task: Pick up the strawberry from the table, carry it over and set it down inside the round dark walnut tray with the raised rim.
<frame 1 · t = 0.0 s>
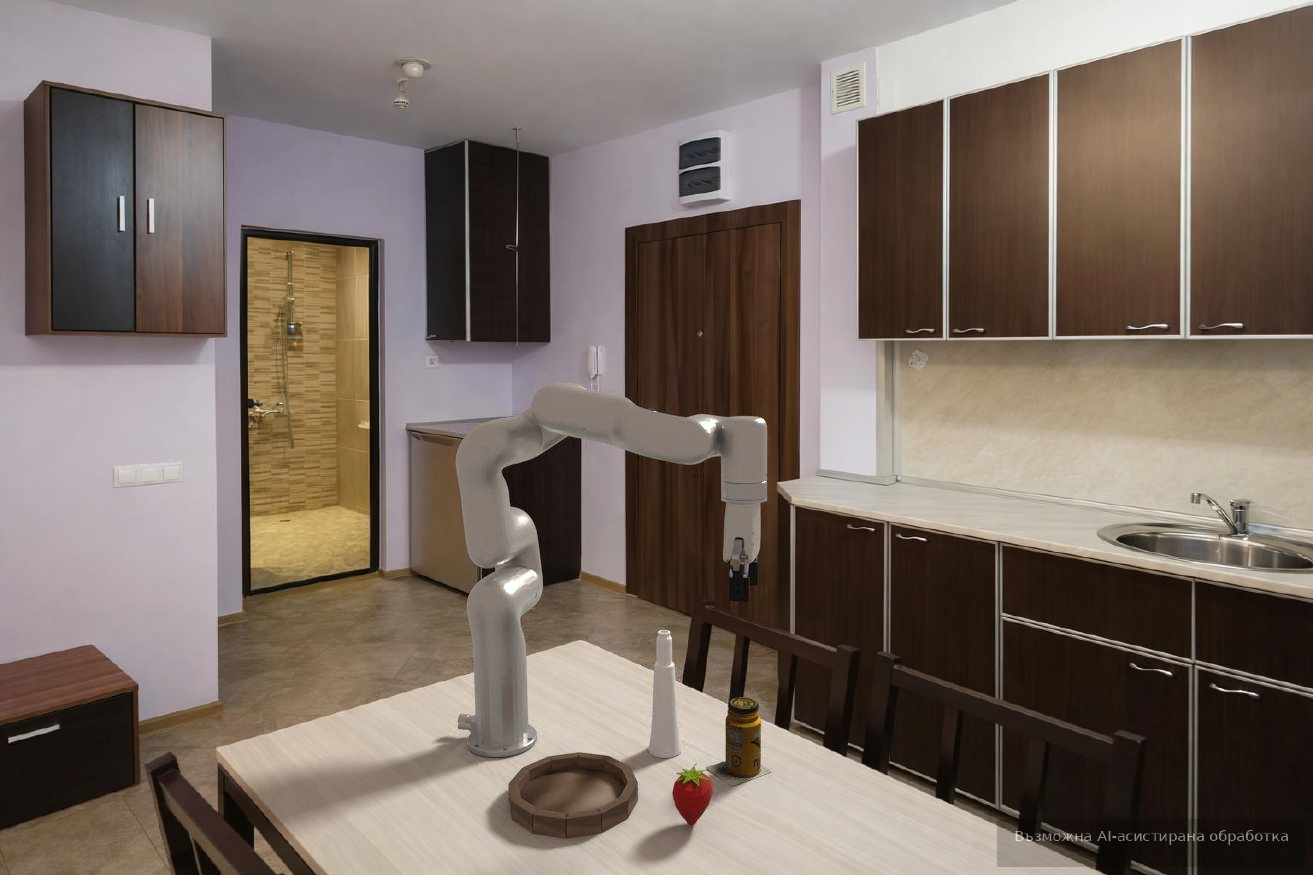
hand: (744, 592, 139), 31 cm above the table, tool pointing down, fingers open, 9 cm apart
strawberry: (692, 825, 126), on the table
cosmetic bottle: (665, 751, 150), on the table
tray: (573, 800, 133), on the table
condiment: (738, 771, 142), on the table
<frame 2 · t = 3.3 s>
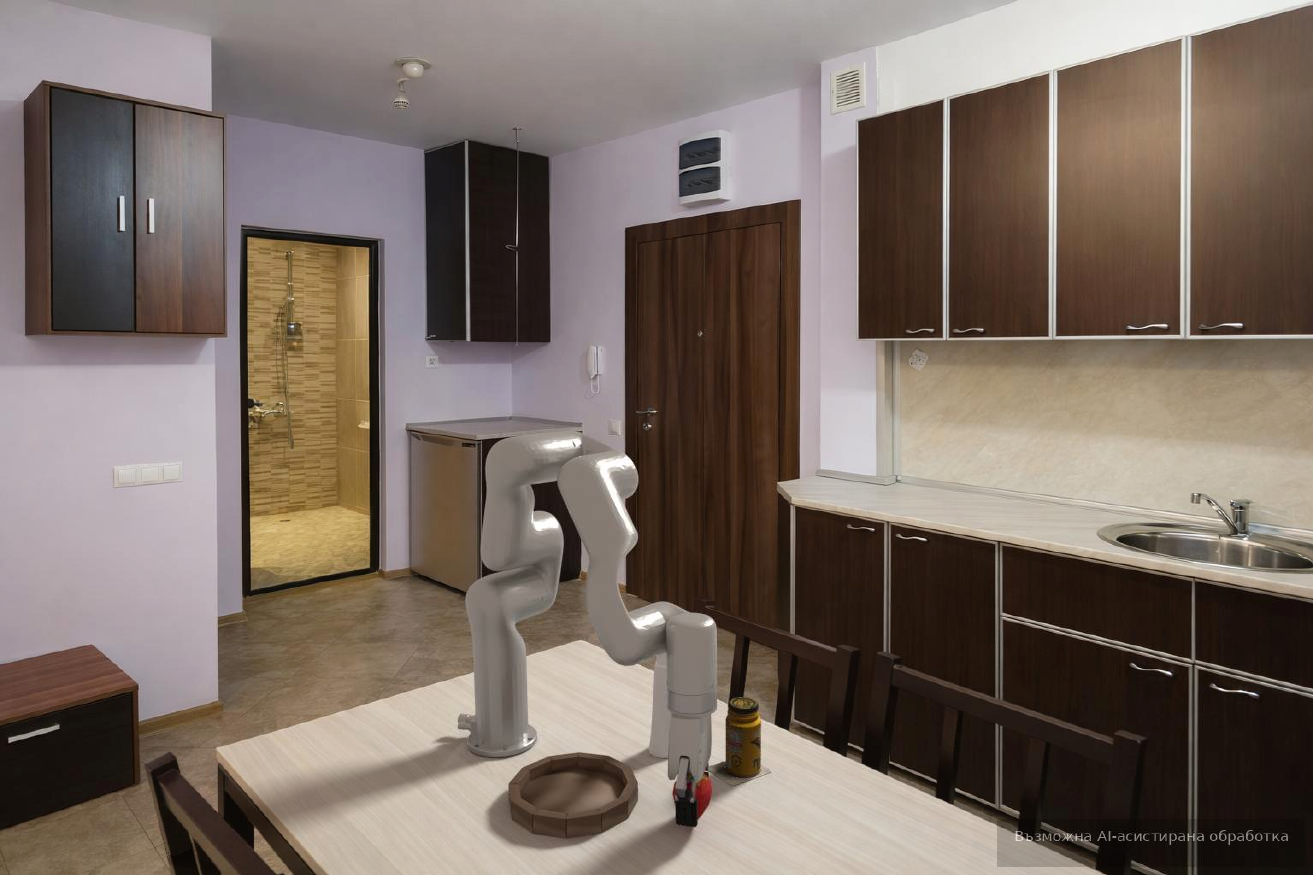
hand: (692, 809, 126), 2 cm above the table, tool pointing down, fingers closed on strawberry, 7 cm apart
strawberry: (692, 825, 126), on the table, touching gripper
everything else where it was.
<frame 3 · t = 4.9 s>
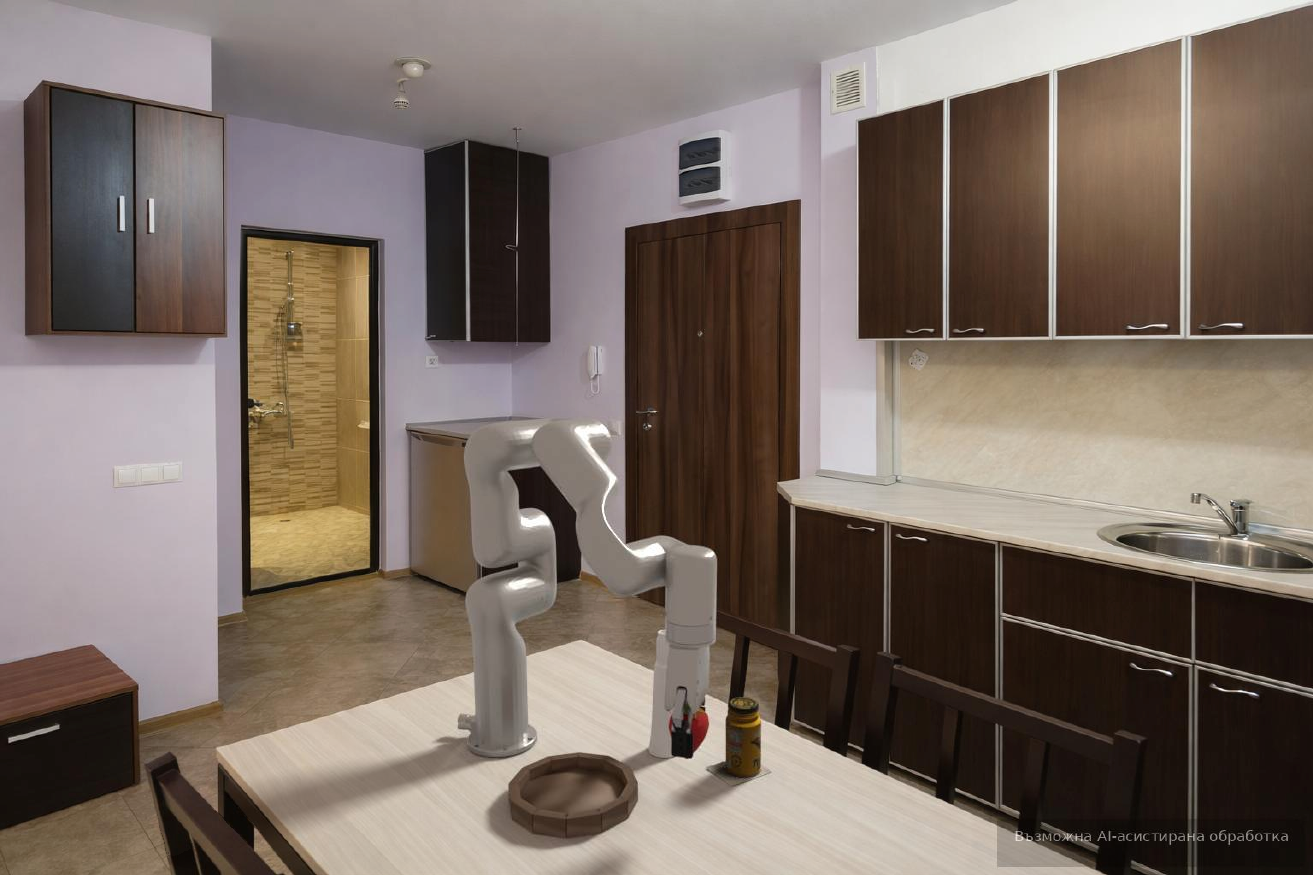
hand: (688, 742, 125), 13 cm above the table, tool pointing down, fingers closed on strawberry, 7 cm apart
strawberry: (688, 759, 126), point 10 cm above the table, touching gripper
everything else where it was.
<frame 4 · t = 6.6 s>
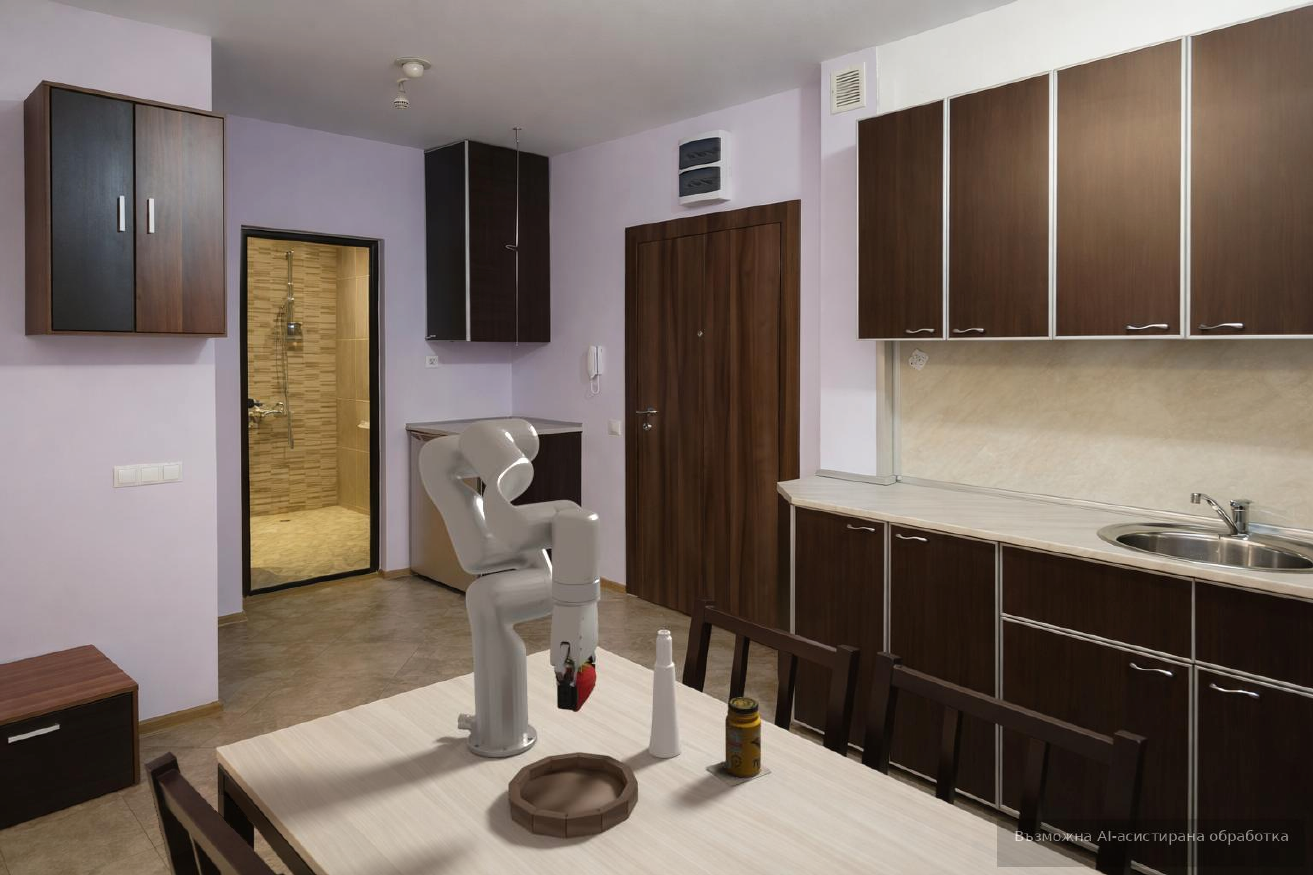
hand: (576, 696, 131), 17 cm above the table, tool pointing down, fingers closed on strawberry, 7 cm apart
strawberry: (577, 712, 132), point 15 cm above the table, touching gripper
everything else where it was.
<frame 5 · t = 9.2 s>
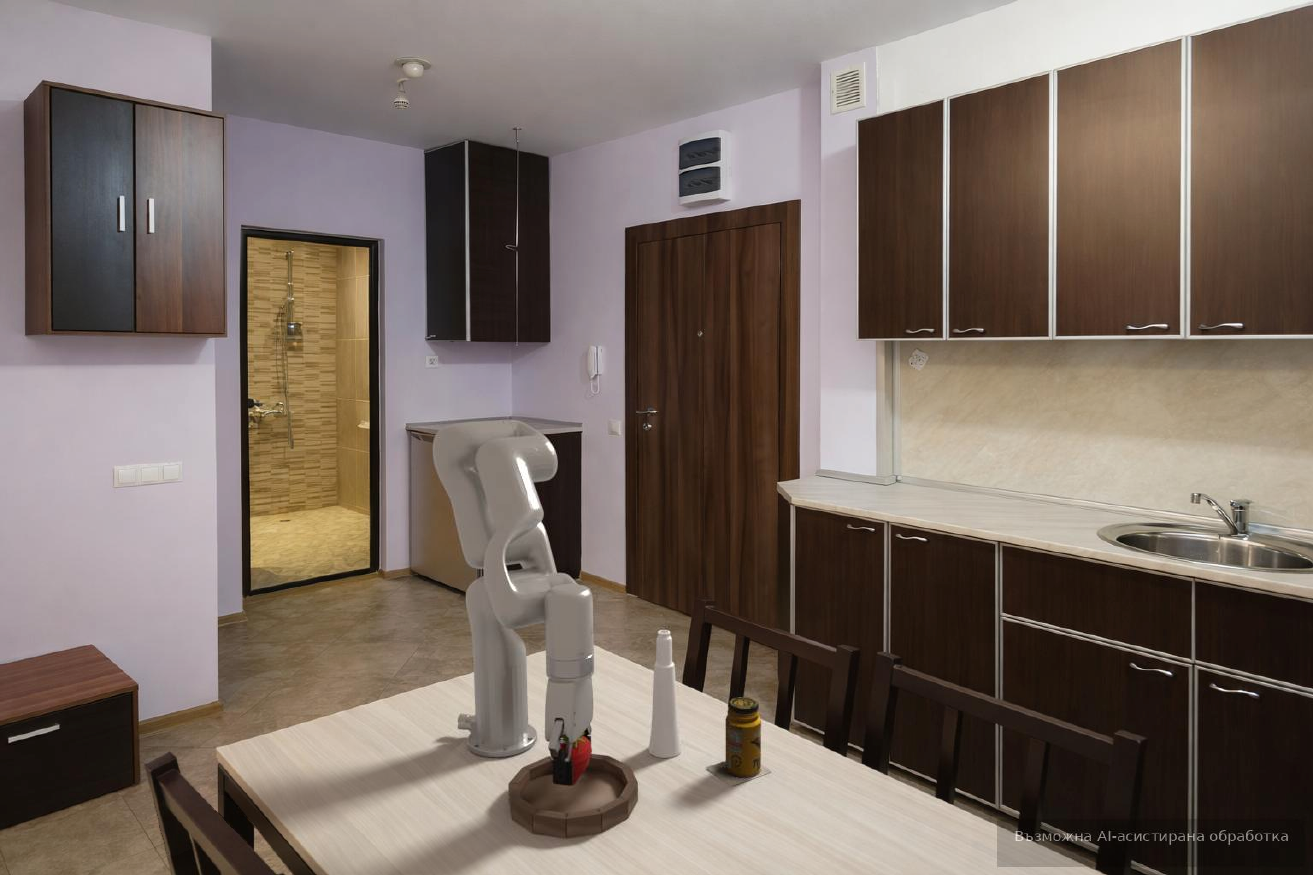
hand: (572, 770, 133), 5 cm above the table, tool pointing down, fingers closed on strawberry, 7 cm apart
strawberry: (573, 785, 133), point 2 cm above the table, touching gripper
everything else where it was.
when the fingers open (5 cm above the table, at t = 9.9 s): strawberry drops 1 cm, resting on tray.
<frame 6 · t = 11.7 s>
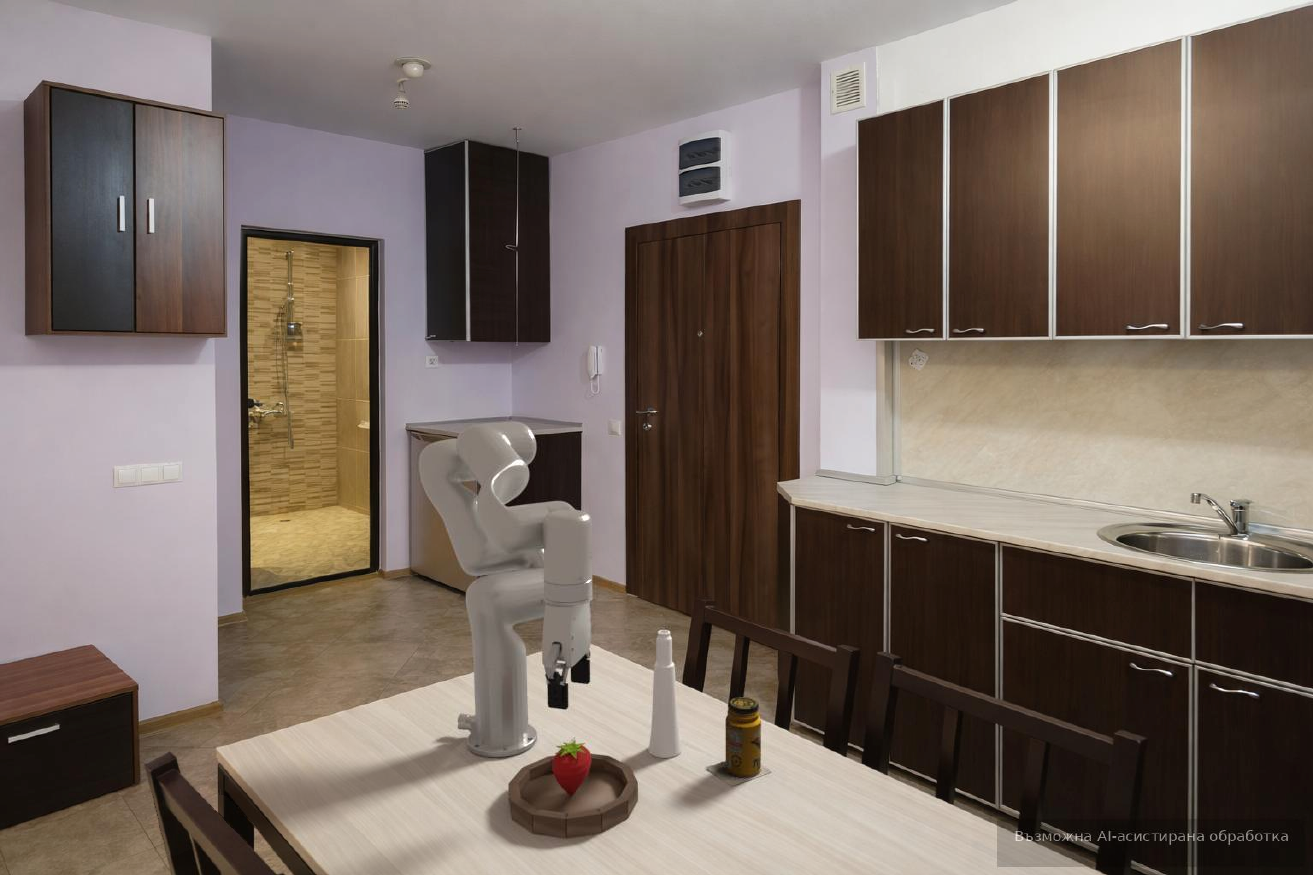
hand: (569, 694, 132), 17 cm above the table, tool pointing down, fingers open, 9 cm apart
strawberry: (572, 795, 133), point 1 cm above the table, touching tray
everything else where it was.
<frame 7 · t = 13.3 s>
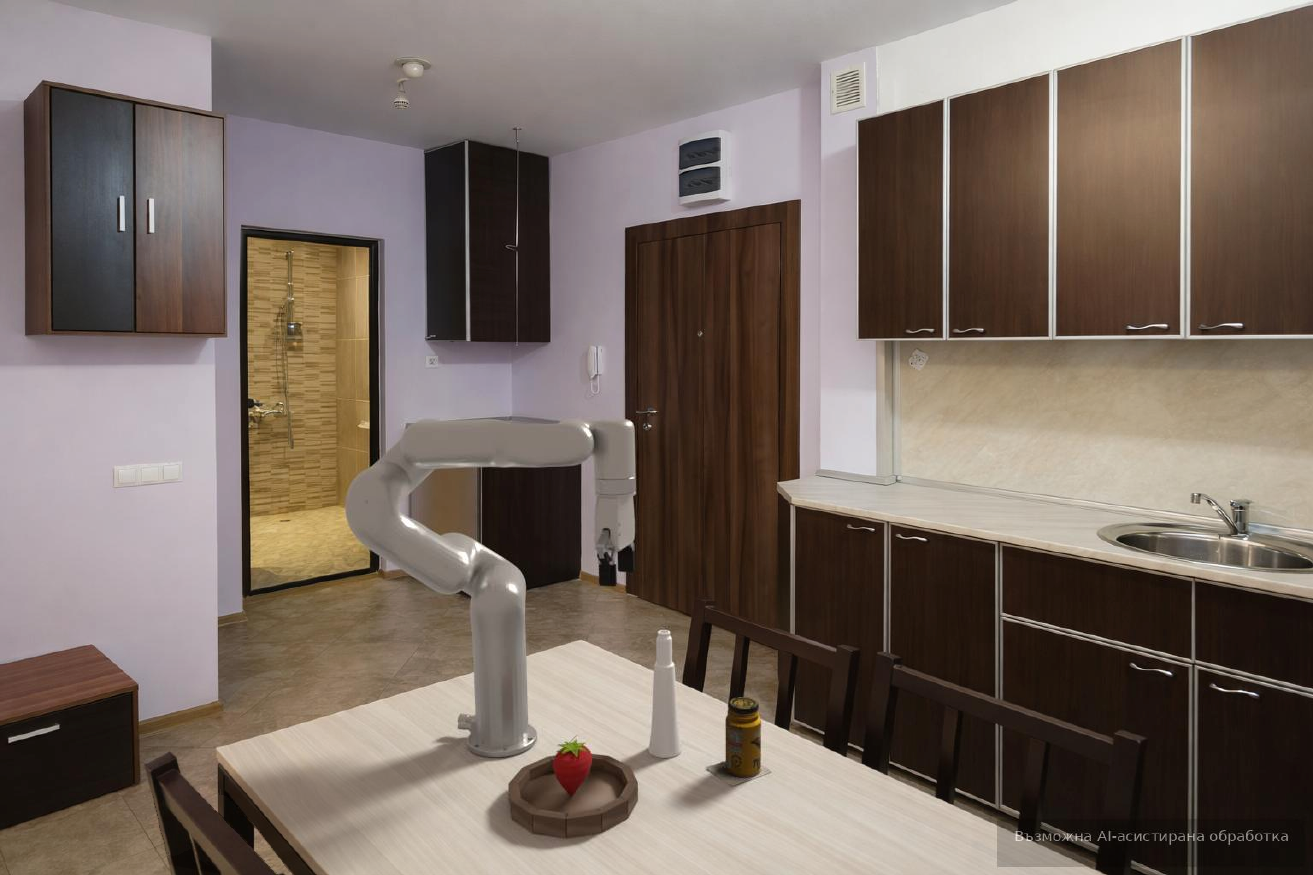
hand: (617, 578, 153), 30 cm above the table, tool pointing down, fingers open, 9 cm apart
nothing on the table moved.
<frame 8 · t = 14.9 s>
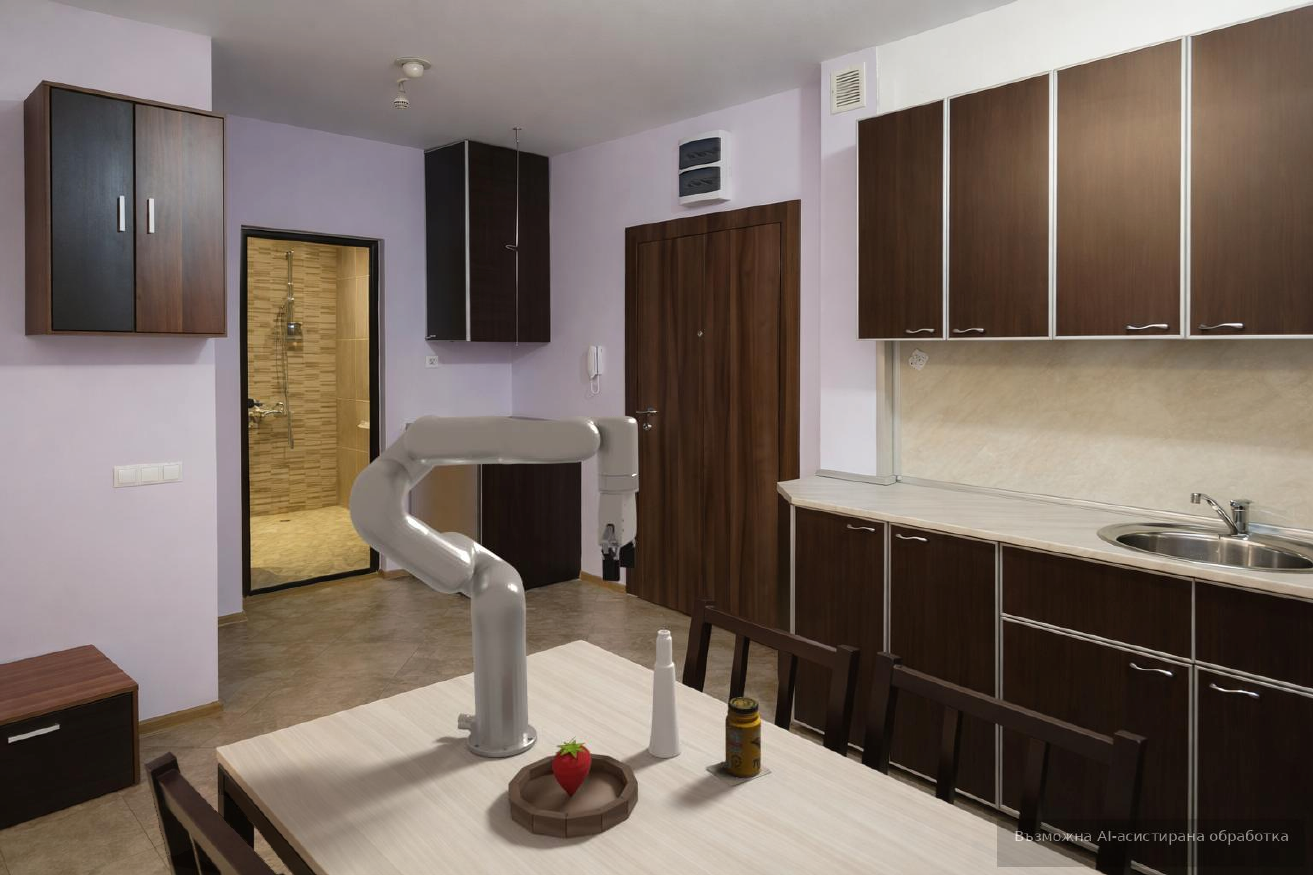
hand: (619, 573, 155), 30 cm above the table, tool pointing down, fingers open, 9 cm apart
nothing on the table moved.
at the end: strawberry inside the target area on the tray (0.2 cm from its centre), point 0.8 cm above the tray's base; strawberry touching tray; the gripper is holding nothing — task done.
